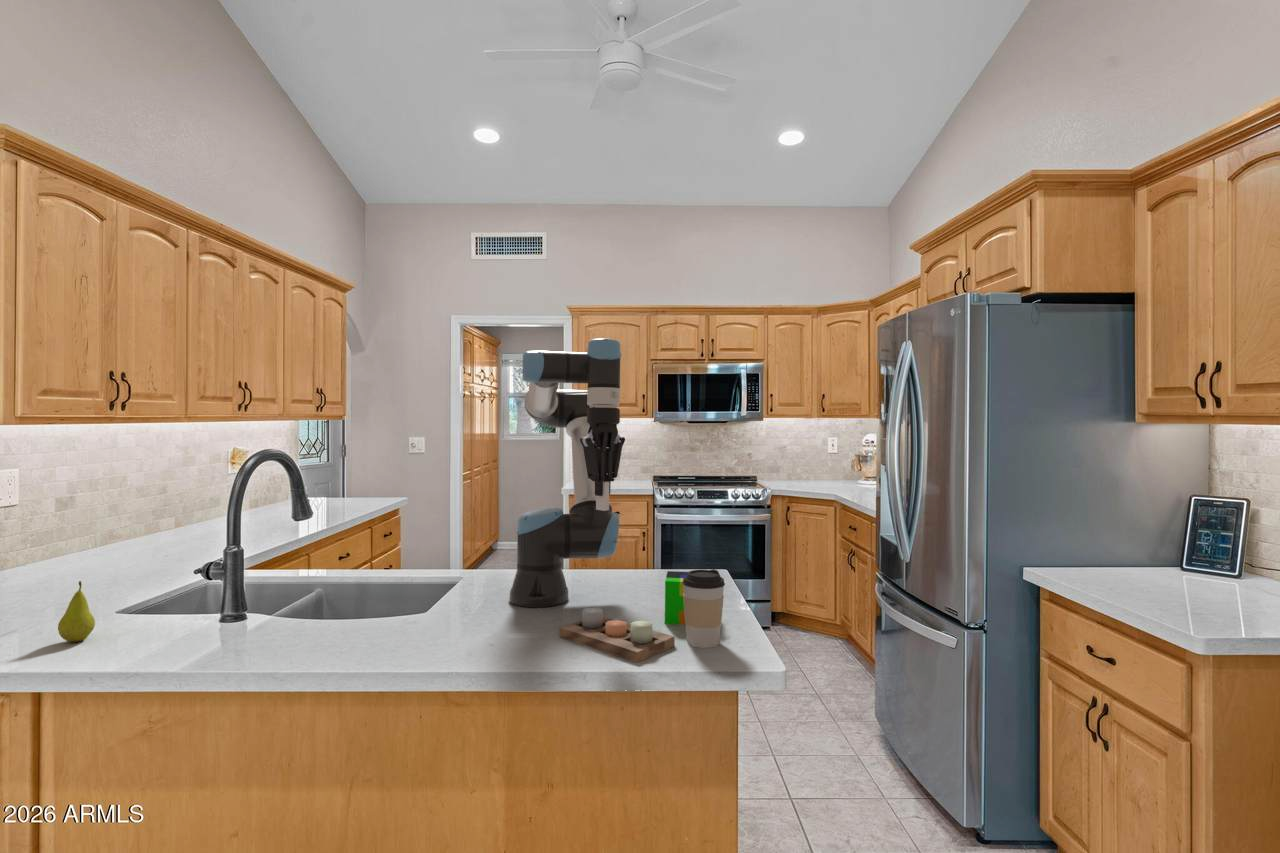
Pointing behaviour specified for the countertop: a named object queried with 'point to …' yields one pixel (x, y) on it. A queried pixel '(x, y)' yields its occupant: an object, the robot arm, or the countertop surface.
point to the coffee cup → (703, 607)
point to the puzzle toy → (674, 598)
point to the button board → (617, 641)
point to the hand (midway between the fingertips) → (602, 509)
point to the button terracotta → (616, 628)
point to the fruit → (76, 619)
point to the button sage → (641, 632)
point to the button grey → (592, 618)
